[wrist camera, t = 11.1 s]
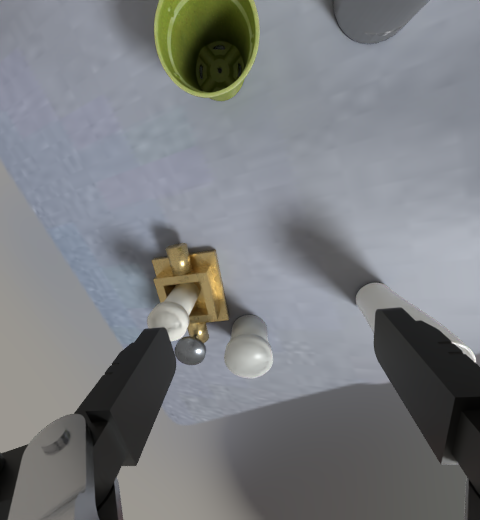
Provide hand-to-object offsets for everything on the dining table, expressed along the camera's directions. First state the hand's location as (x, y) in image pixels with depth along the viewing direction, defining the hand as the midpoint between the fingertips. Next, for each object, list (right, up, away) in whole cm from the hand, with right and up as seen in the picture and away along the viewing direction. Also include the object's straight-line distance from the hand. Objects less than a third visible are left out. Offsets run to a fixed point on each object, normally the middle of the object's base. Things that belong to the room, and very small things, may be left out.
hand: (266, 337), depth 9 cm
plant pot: (-3, +26, +20) cm, 33 cm away
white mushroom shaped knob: (-10, -2, +29) cm, 31 cm away
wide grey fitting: (+1, -9, +32) cm, 33 cm away
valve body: (-9, -2, +30) cm, 31 cm away
